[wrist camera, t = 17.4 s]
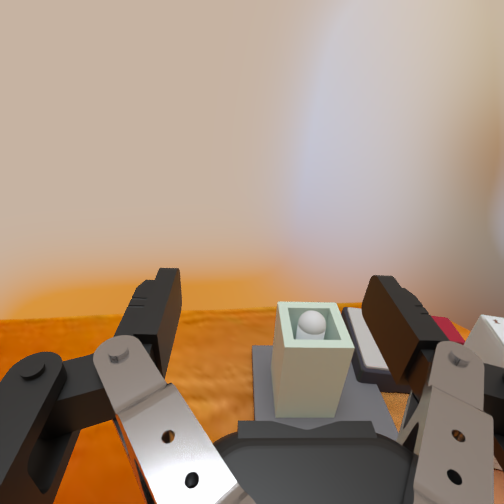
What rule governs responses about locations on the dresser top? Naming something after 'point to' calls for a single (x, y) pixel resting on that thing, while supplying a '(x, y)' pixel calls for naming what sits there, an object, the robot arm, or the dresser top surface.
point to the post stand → (351, 400)
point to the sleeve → (309, 363)
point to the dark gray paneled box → (369, 357)
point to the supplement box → (488, 344)
